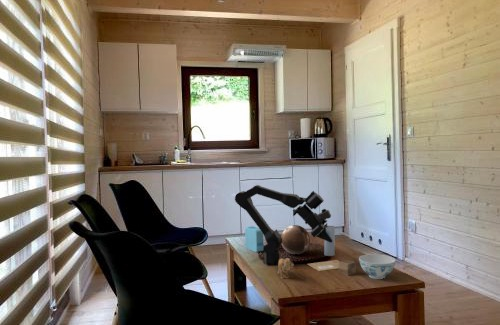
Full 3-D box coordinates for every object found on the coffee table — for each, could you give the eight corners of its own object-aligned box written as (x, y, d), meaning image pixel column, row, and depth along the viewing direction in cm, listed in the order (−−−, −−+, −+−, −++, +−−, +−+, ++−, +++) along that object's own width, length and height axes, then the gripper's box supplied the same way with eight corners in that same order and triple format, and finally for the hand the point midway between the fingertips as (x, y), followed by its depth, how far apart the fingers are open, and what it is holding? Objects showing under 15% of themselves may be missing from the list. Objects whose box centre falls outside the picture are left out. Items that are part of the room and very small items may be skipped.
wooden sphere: (275, 252, 222) (275, 224, 221) (299, 249, 228) (299, 221, 228) (291, 259, 208) (290, 229, 207) (315, 255, 215) (315, 226, 214)
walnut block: (347, 275, 181) (347, 264, 181) (339, 273, 185) (338, 261, 185) (355, 273, 184) (355, 262, 184) (347, 270, 188) (346, 259, 188)
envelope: (319, 271, 188) (319, 270, 188) (307, 264, 199) (307, 263, 199) (349, 267, 193) (349, 266, 193) (336, 260, 204) (336, 259, 204)
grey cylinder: (331, 256, 191) (331, 228, 190) (322, 254, 194) (322, 226, 194) (336, 254, 195) (336, 226, 194) (327, 252, 198) (327, 225, 197)
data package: (263, 251, 225) (263, 229, 224) (256, 252, 222) (256, 230, 222) (252, 247, 235) (251, 225, 234) (245, 248, 233) (244, 226, 232)
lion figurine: (295, 280, 177) (294, 259, 177) (283, 281, 176) (283, 260, 175) (283, 270, 191) (283, 250, 191) (272, 271, 190) (271, 251, 189)
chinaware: (352, 273, 184) (351, 256, 183) (380, 269, 189) (380, 252, 188) (373, 284, 169) (373, 265, 169) (403, 279, 175) (403, 261, 174)
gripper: (318, 207, 185) (344, 233, 183) (322, 201, 203) (345, 224, 201) (300, 224, 188) (325, 250, 185) (306, 216, 206) (329, 240, 203)
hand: (332, 240), depth 194 cm, fingers closed on grey cylinder, 5 cm apart
